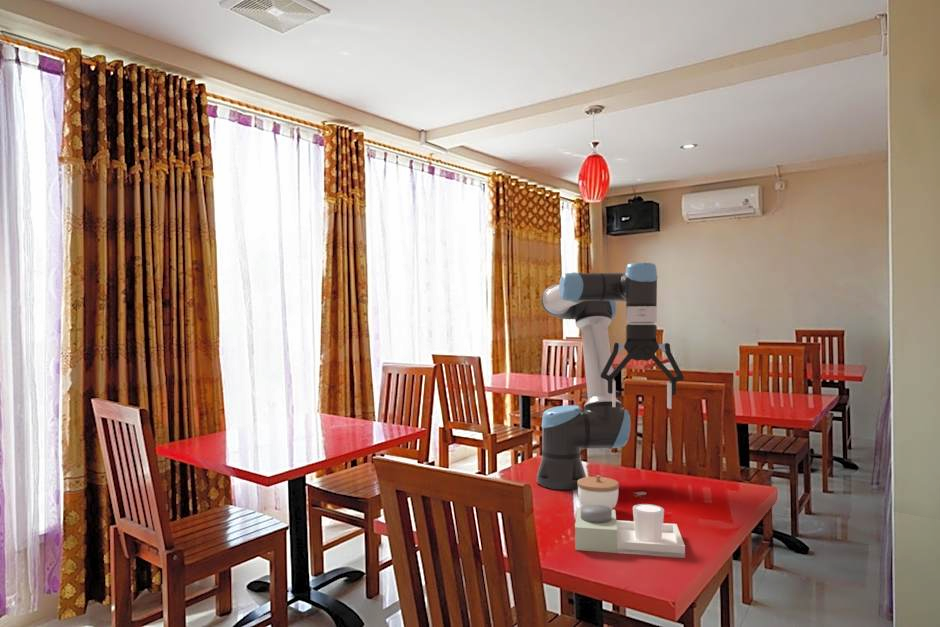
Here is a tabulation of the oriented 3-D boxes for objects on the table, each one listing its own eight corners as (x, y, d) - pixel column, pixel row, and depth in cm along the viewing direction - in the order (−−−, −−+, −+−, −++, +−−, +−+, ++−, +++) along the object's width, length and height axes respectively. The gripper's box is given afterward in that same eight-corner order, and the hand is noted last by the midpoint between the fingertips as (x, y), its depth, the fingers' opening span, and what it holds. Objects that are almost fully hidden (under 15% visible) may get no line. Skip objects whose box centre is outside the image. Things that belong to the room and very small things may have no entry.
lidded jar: (588, 519, 154) (588, 482, 154) (570, 506, 164) (570, 472, 164) (626, 515, 157) (626, 479, 157) (606, 503, 167) (606, 469, 167)
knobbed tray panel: (577, 528, 148) (577, 499, 148) (676, 534, 143) (676, 504, 143) (575, 549, 134) (575, 518, 134) (685, 557, 130) (684, 525, 130)
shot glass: (632, 542, 136) (632, 511, 136) (633, 532, 142) (633, 502, 142) (664, 546, 134) (664, 514, 134) (664, 535, 140) (664, 504, 140)
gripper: (591, 324, 154) (591, 408, 154) (695, 324, 149) (695, 411, 149) (591, 323, 161) (591, 403, 161) (690, 323, 156) (690, 406, 156)
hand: (641, 407), depth 155 cm, fingers open, 13 cm apart
